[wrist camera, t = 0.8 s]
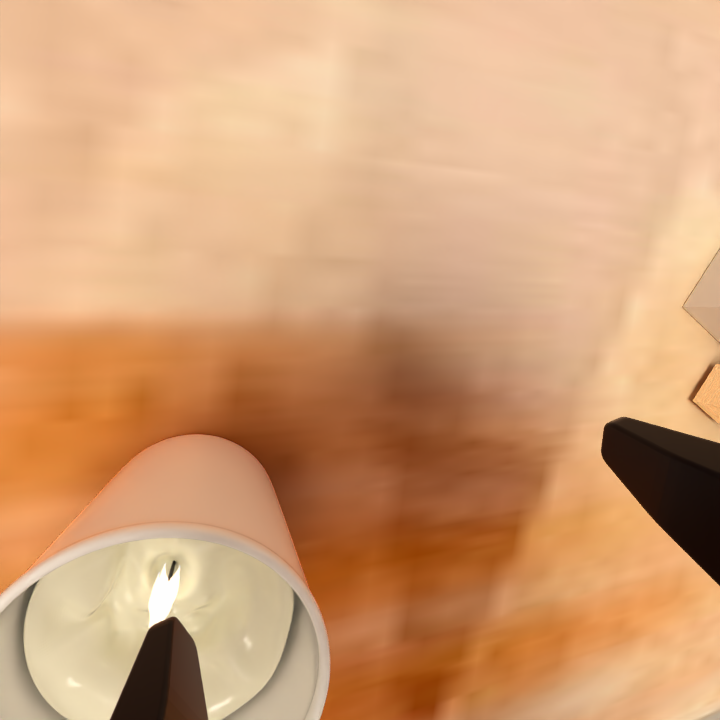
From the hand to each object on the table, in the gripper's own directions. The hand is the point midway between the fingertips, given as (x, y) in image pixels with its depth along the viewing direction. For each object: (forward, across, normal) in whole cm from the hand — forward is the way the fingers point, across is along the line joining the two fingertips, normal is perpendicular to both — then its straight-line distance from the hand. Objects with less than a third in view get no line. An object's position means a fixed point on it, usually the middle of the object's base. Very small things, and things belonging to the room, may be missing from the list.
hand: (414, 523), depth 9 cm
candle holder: (+14, +7, +10) cm, 19 cm away
